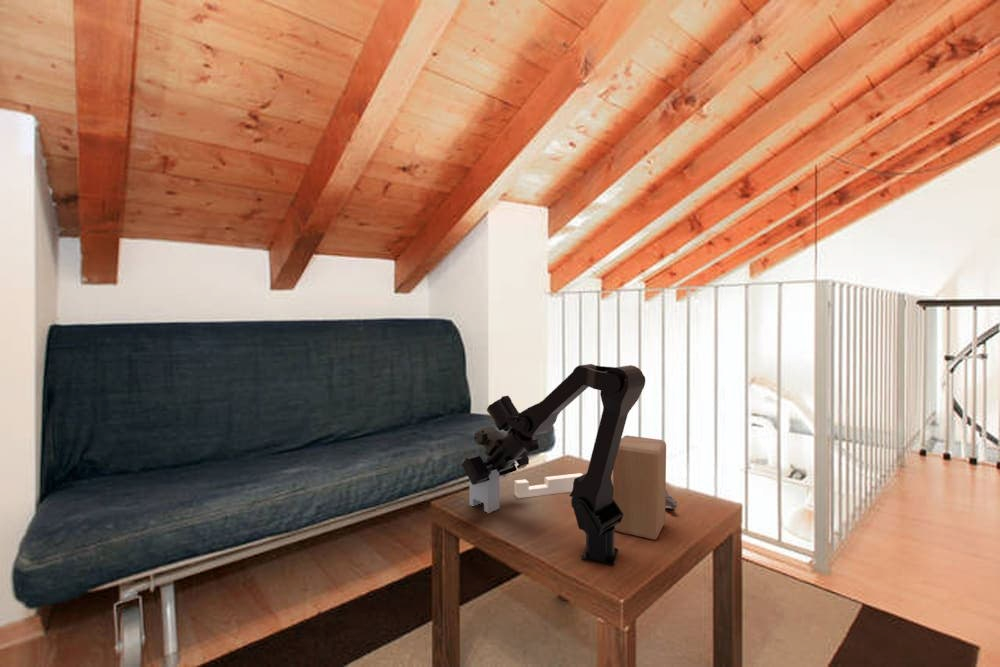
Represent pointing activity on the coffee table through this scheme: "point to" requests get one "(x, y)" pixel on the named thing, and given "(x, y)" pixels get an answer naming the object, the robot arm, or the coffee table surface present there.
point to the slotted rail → (546, 486)
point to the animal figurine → (669, 501)
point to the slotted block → (486, 493)
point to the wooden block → (640, 485)
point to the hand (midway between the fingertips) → (480, 480)
